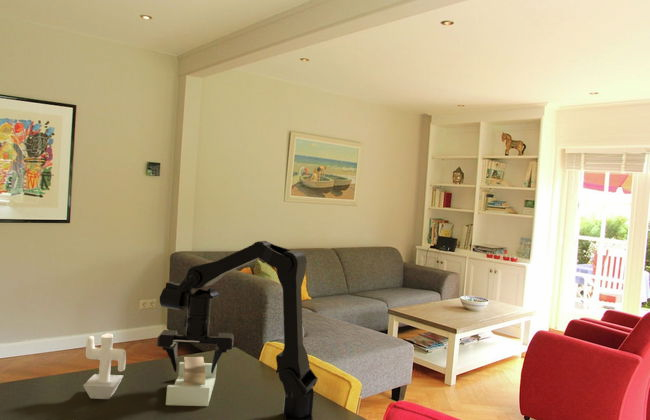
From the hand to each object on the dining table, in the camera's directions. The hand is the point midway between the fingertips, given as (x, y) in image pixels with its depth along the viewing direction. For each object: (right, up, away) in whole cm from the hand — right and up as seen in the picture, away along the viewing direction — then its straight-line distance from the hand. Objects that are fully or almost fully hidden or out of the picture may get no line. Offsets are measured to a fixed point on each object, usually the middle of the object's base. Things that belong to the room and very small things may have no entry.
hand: (194, 372), depth 124 cm
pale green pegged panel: (0, -5, 0) cm, 5 cm away
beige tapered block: (0, -1, 0) cm, 1 cm away
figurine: (-21, -4, -6) cm, 22 cm away
